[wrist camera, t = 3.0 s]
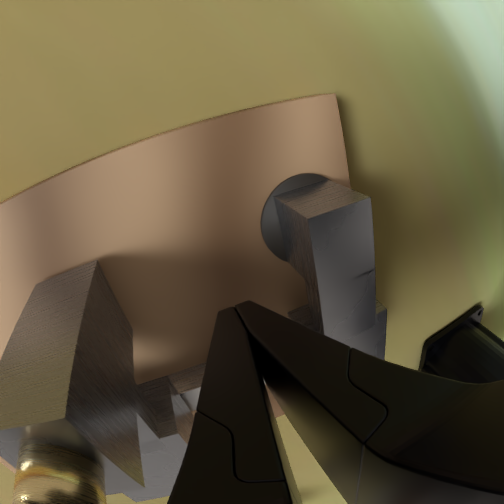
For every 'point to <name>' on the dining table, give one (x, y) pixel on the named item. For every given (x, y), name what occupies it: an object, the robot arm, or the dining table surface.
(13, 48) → the dining table surface
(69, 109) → the dining table surface
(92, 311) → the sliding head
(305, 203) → the rail
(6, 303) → the brown wooden board
